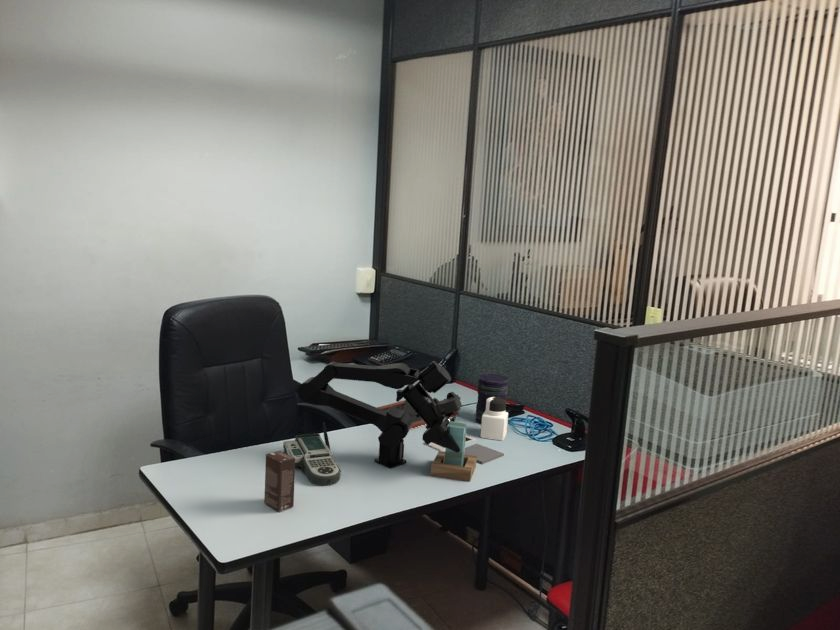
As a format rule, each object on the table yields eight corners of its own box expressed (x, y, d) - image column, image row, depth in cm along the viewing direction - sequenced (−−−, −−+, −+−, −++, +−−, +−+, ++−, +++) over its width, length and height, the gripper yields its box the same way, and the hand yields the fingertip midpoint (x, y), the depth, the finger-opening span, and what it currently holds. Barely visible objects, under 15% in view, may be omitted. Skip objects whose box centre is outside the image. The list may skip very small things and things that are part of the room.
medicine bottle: (506, 433, 214) (509, 397, 212) (503, 441, 207) (506, 403, 205) (484, 430, 215) (487, 394, 213) (480, 437, 209) (483, 400, 207)
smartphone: (423, 445, 201) (423, 441, 201) (458, 434, 212) (459, 431, 211) (440, 452, 196) (440, 449, 196) (476, 441, 206) (476, 438, 206)
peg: (460, 475, 179) (463, 428, 177) (443, 473, 180) (447, 426, 178) (463, 469, 184) (466, 423, 181) (447, 466, 185) (450, 421, 182)
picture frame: (415, 402, 243) (363, 416, 224) (415, 396, 242) (363, 410, 224) (457, 416, 229) (406, 432, 211) (458, 411, 229) (406, 426, 211)
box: (294, 507, 156) (296, 457, 154) (278, 512, 153) (279, 462, 151) (279, 498, 160) (280, 449, 158) (263, 503, 157) (264, 454, 155)
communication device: (302, 491, 166) (302, 457, 164) (280, 454, 187) (281, 424, 185) (349, 485, 171) (350, 452, 169) (323, 450, 192) (324, 420, 190)
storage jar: (510, 421, 225) (514, 378, 223) (495, 428, 218) (499, 383, 215) (484, 414, 231) (488, 372, 229) (469, 421, 223) (472, 377, 221)
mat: (482, 464, 188) (482, 462, 188) (454, 453, 195) (455, 451, 194) (503, 455, 195) (504, 453, 195) (476, 445, 202) (476, 443, 202)
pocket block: (470, 481, 176) (470, 470, 175) (430, 475, 178) (431, 464, 178) (475, 466, 186) (476, 456, 185) (438, 461, 188) (439, 450, 188)
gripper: (437, 394, 170) (478, 442, 169) (451, 376, 188) (488, 419, 187) (405, 420, 173) (445, 468, 172) (422, 400, 191) (458, 443, 190)
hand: (460, 448), depth 181 cm, fingers closed on peg, 4 cm apart
